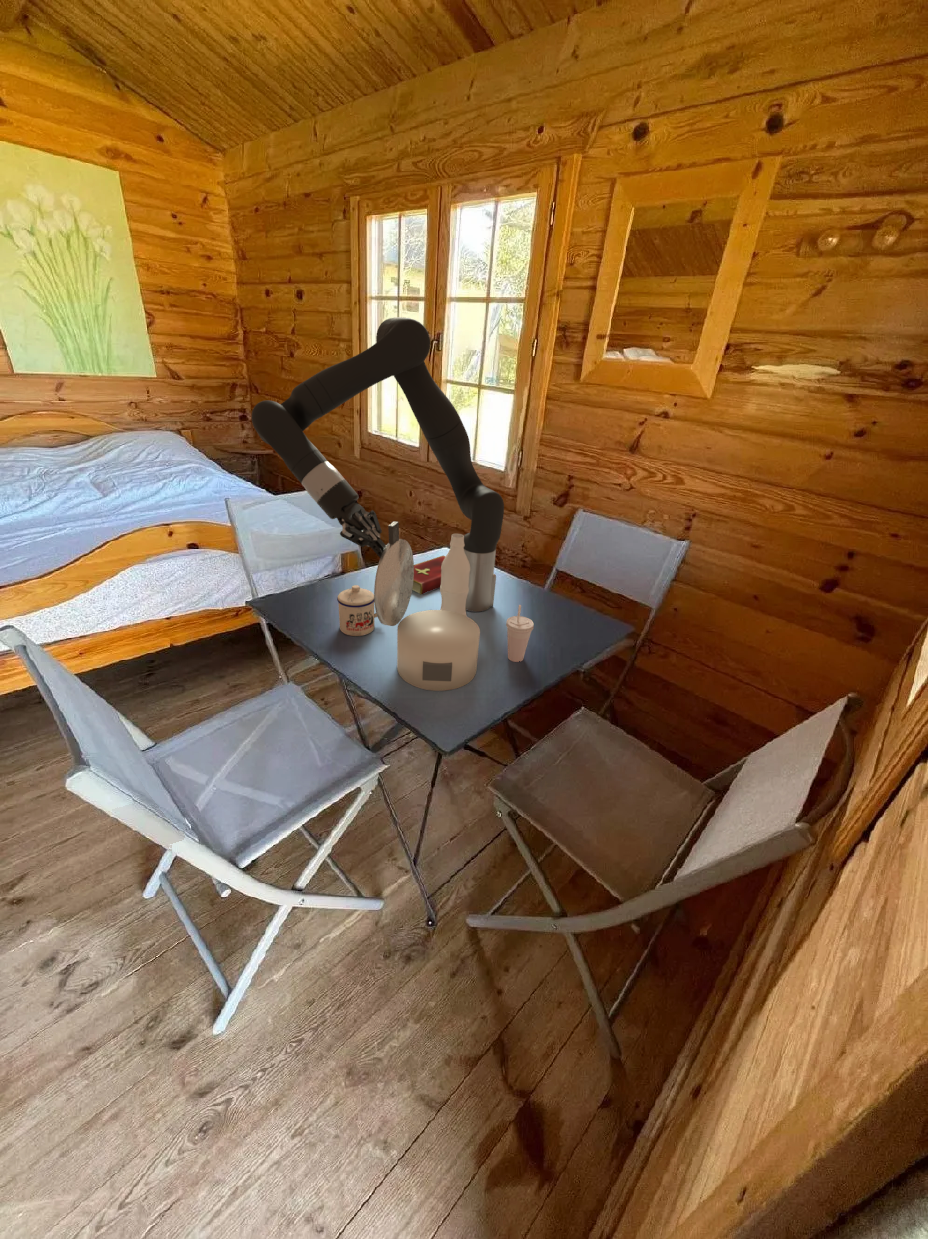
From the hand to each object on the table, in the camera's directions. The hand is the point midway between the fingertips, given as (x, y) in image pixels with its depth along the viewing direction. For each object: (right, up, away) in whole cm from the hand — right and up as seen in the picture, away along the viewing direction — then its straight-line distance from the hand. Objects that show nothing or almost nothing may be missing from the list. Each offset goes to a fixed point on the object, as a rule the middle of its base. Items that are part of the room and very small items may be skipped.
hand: (386, 555), depth 108 cm
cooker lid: (+2, -4, +1) cm, 5 cm away
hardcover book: (+6, -1, +53) cm, 53 cm away
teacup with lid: (-10, -15, +23) cm, 30 cm away
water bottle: (+13, -16, +26) cm, 33 cm away
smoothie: (+28, -23, +15) cm, 39 cm away
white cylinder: (+10, -24, +9) cm, 28 cm away
